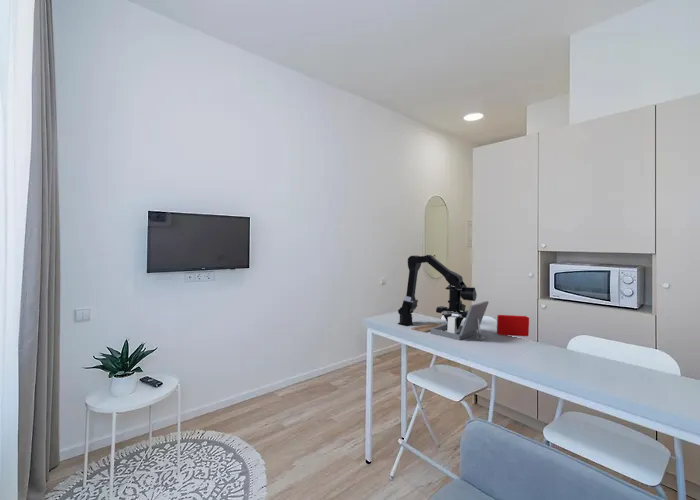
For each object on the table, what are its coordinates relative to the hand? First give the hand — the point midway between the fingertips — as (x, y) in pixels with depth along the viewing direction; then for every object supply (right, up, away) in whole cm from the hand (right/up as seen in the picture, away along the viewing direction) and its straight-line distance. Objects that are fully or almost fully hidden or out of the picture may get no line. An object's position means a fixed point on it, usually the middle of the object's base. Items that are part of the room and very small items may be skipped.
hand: (453, 328), depth 180 cm
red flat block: (+31, -4, 0) cm, 31 cm away
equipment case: (+3, -3, -3) cm, 5 cm away
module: (0, -2, 0) cm, 2 cm away
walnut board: (-11, -2, +11) cm, 15 cm away
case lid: (+8, +7, -8) cm, 13 cm away
